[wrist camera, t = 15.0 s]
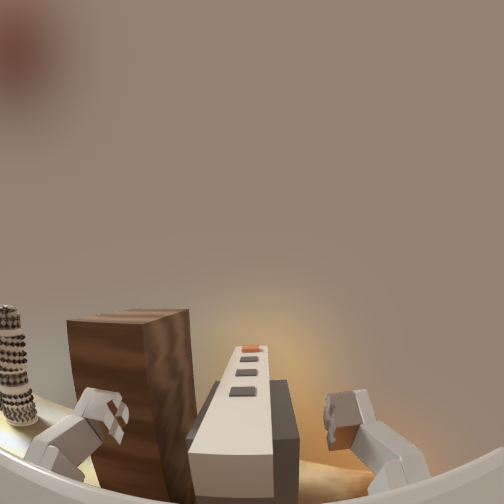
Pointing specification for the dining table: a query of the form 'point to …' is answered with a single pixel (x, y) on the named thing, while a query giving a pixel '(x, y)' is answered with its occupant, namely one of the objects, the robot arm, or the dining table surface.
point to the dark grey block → (283, 448)
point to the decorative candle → (14, 371)
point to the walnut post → (141, 397)
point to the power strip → (237, 432)
